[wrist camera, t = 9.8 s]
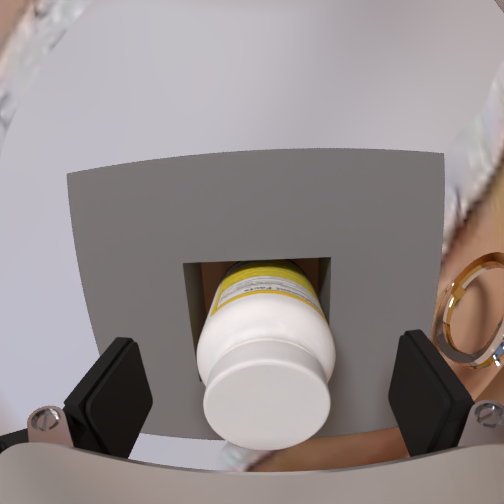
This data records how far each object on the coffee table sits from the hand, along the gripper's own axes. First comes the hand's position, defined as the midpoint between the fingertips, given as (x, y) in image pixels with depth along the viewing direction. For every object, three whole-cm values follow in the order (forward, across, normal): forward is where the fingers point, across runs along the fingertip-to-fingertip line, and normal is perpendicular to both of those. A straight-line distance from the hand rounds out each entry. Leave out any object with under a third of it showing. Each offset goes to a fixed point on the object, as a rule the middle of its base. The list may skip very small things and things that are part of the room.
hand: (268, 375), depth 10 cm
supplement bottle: (+8, 0, 0) cm, 8 cm away
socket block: (+9, +1, +1) cm, 9 cm away
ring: (+9, -12, +1) cm, 16 cm away
